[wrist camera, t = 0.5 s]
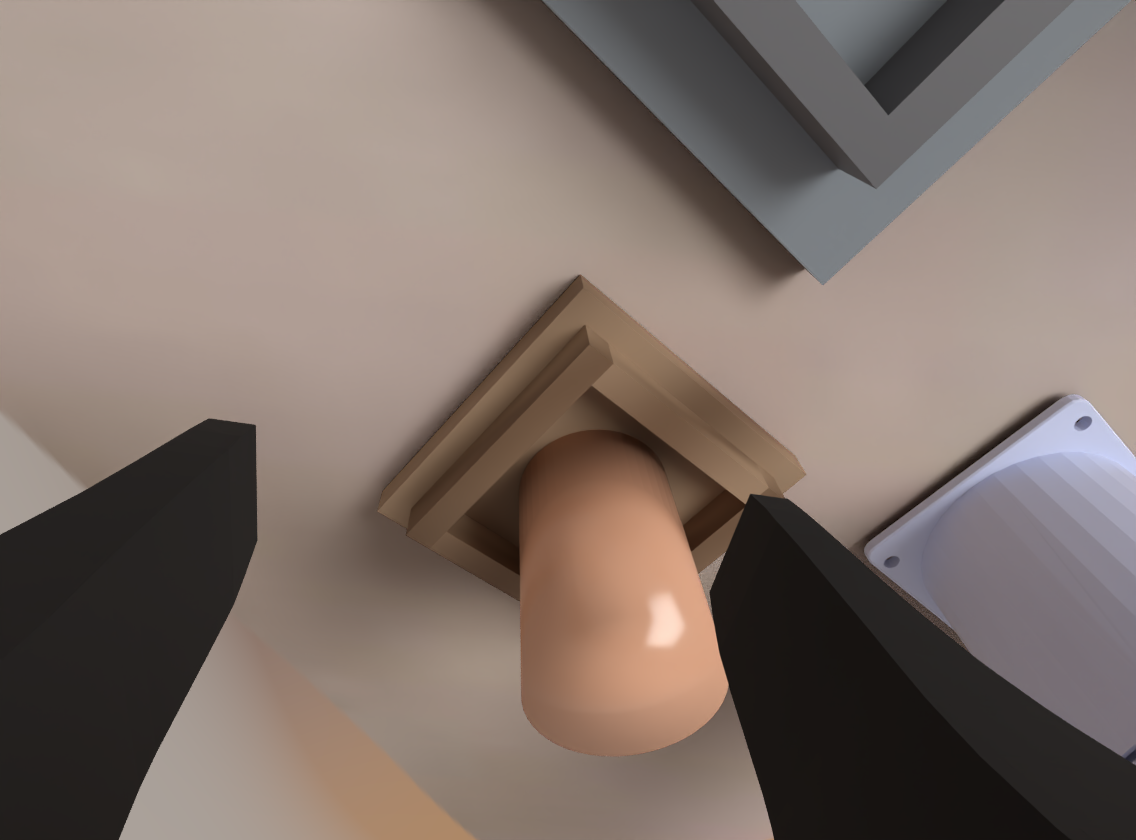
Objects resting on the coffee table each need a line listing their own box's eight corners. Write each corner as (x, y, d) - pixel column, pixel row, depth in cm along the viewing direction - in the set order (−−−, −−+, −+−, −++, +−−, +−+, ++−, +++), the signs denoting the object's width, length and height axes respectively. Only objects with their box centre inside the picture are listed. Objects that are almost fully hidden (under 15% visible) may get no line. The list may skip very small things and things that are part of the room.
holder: (795, 455, 22) (821, 498, 20) (597, 620, 25) (604, 671, 23) (580, 274, 19) (588, 306, 17) (382, 490, 22) (370, 538, 20)
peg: (697, 483, 21) (771, 678, 15) (597, 571, 23) (627, 779, 17) (589, 401, 19) (623, 583, 13) (488, 501, 21) (478, 705, 15)
